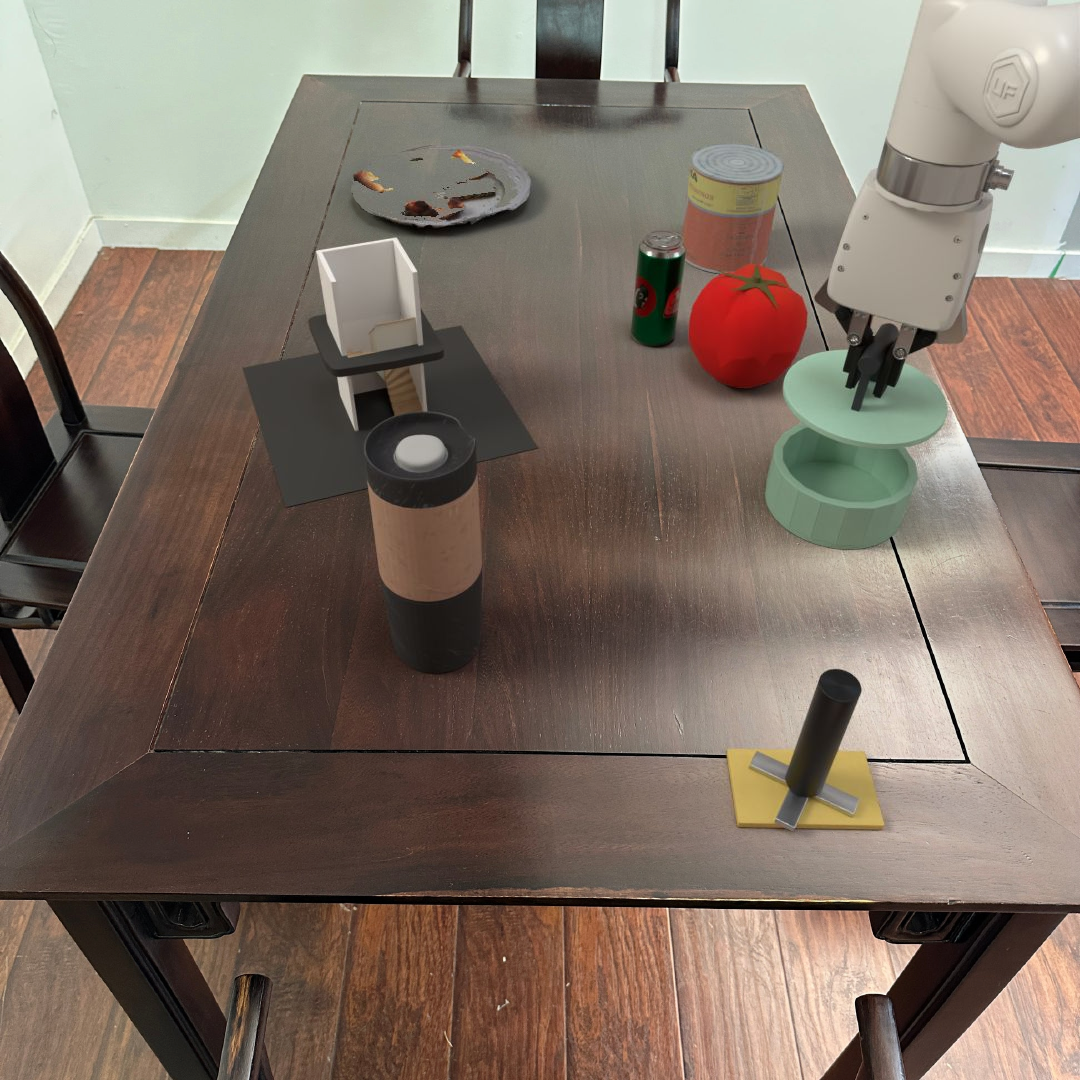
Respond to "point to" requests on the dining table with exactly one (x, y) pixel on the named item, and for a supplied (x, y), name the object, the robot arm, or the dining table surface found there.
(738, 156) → the canned food
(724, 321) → the tomato
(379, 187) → the food plate
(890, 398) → the lid
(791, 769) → the black and grey rod
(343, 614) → the dining table surface
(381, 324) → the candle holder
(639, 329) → the soda can
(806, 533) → the bowl
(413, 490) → the travel mug
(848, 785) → the mat
